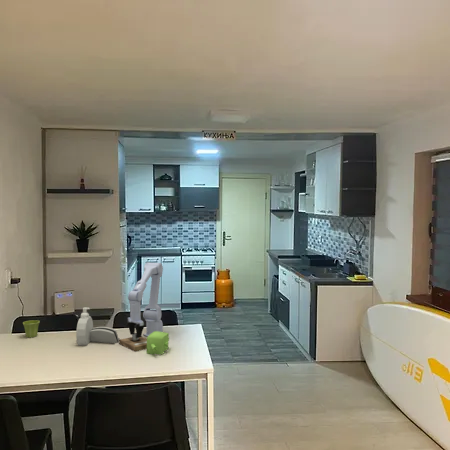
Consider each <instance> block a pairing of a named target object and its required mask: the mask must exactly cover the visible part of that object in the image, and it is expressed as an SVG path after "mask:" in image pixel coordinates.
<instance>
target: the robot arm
mask: <svg viewBox="0 0 450 450" xmlns="http://www.w3.org/2000/svg"><path fill="white" fill-rule="evenodd" d="M163 270H164V265H163V264H162V263H161V262H148V261H146V262H145V264H144V266H143V271H144V272H143V274H142V276H141V278H140V280H138V281H137V282H136V284H135V285H134V287H133V289H132V290H131V291H129V292H128V296H127V299H128V304H129V306H130V307H129V308H130V309H129V310H130V311H129V312H130V314H129V316H130V317H127V322H126V325H127V327H128V330H129V333H130V335H131V336H132V334H133V333H136V334H137V338H139V337H141V336H142V334H143V335H144V336H145V337H146V336H149V335H150V334H151V333H153V332H154V331H159V332H164V327H163V326H164V324H163V321H162V320H161V318H162V308H161V306H160V305H159V304H158V303H159V293H160V284H161V283H160V282H161V278H162V277H163ZM150 278H151V283H150V291H149V299H148V301H149V302H148V304H147V305H145V307H144V311H143V313H142V314H141V311H142V310H141V307H142V306H141V301H142V300H143V297H144V291H145V290H146V287H147V282H148V280H149V279H150ZM141 315H142V316H143V319H144V321H146V324H145V323H144V321H143V320H142V318H141ZM145 327H146V332H145V333H143V330H144V328H145Z"/></svg>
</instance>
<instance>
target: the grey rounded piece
mask: <svg viewBox="0 0 450 450" xmlns="http://www.w3.org/2000/svg"><path fill="white" fill-rule="evenodd" d="M119 340H120V337H119V336H118V332H117V330H116V329H115V328H112V327H108V326H97V327H93V329H92V330H91V331H90V342H92V343H106V344H108V343H109V344H118V342H119Z"/></svg>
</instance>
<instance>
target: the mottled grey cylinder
mask: <svg viewBox="0 0 450 450" xmlns="http://www.w3.org/2000/svg"><path fill="white" fill-rule="evenodd" d="M131 337H132V341H133V342H137V341H139V338H137V334H136V332H135V333H133V334H132V335H131Z"/></svg>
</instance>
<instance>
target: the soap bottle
mask: <svg viewBox="0 0 450 450" xmlns="http://www.w3.org/2000/svg"><path fill="white" fill-rule="evenodd" d="M88 310H91V308H90V307H82V312H81V314H80V318H78V321H77V324H76V331H75V332H76V335H75V339H76V344H77V346H87V345H88V344H89V343H90V342H91V341H90V331H91V330H92V329H93V328H94V321H93V318H92V316H90V313H89V312H88Z"/></svg>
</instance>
